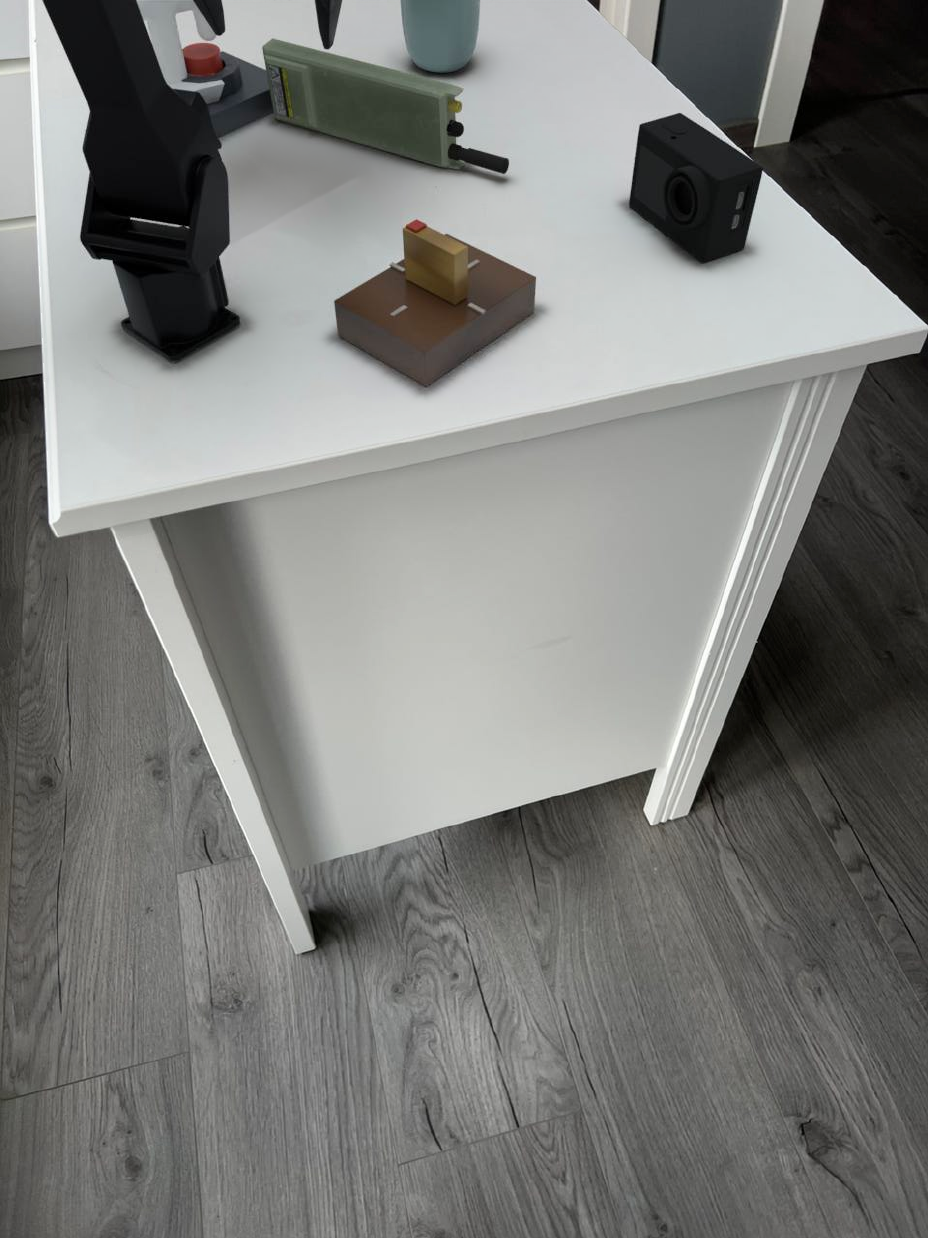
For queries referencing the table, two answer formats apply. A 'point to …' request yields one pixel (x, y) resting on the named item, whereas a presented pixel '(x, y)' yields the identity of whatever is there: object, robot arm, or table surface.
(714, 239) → the digital camera
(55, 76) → the table surface
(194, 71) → the release button
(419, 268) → the gold box
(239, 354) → the table surface
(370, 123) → the handheld radio
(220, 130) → the box
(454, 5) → the cup
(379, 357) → the plate
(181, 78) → the white bracket
